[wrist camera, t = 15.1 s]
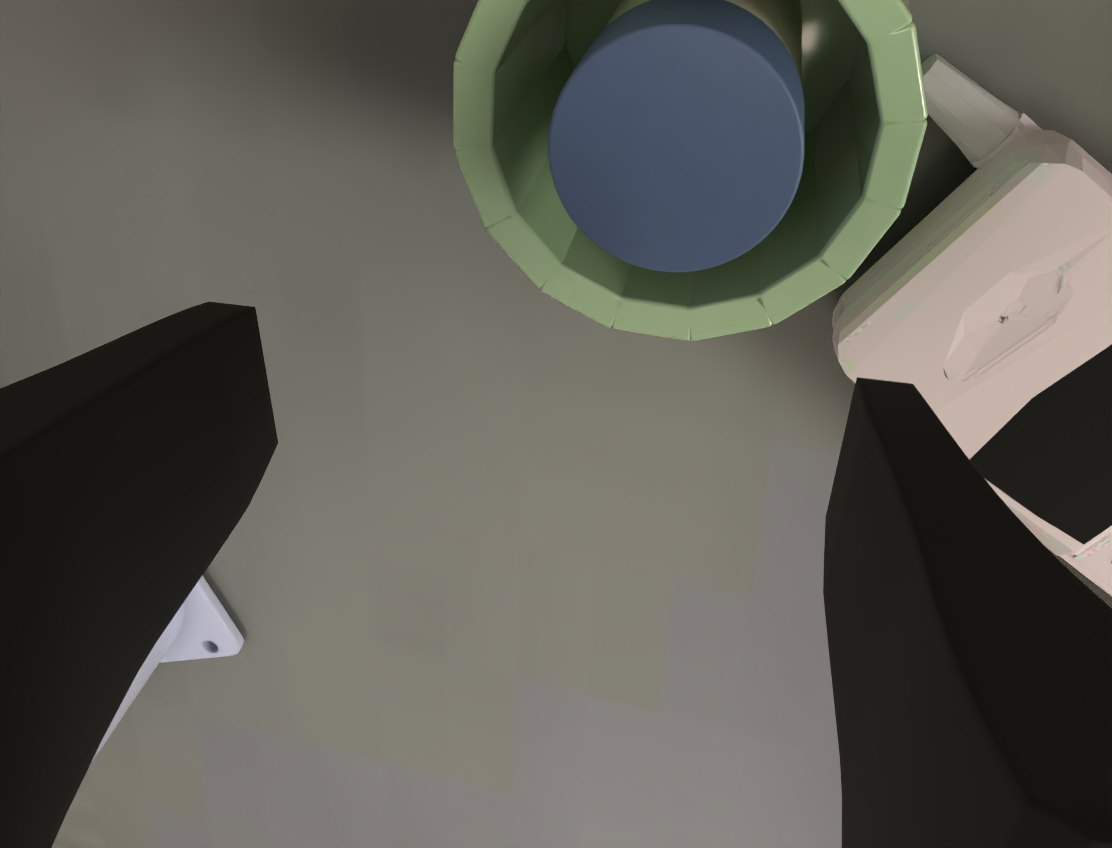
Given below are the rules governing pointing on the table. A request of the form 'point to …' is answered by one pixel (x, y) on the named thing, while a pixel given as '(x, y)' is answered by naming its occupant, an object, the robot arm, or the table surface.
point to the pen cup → (769, 267)
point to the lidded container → (683, 130)
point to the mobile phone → (1006, 318)
